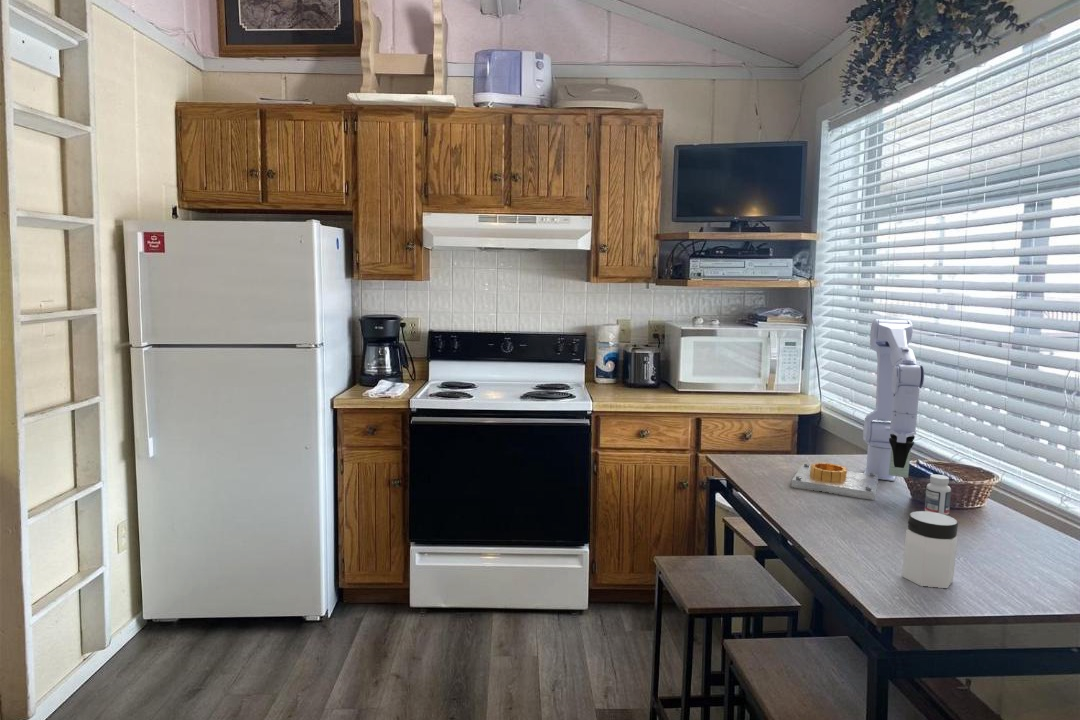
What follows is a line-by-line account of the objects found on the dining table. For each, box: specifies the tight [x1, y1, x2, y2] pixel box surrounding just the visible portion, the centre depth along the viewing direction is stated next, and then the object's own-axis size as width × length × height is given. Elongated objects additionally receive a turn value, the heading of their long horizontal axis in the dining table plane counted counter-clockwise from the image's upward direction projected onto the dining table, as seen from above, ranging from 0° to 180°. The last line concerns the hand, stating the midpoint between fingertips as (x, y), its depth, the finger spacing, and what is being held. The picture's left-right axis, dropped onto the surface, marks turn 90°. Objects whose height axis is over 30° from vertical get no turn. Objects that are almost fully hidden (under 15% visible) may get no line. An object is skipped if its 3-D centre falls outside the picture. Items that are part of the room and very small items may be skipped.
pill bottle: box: [924, 473, 952, 516], centre depth 180 cm, size 5×5×9 cm
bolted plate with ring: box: [791, 462, 879, 501], centre depth 201 cm, size 18×20×4 cm
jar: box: [901, 510, 959, 589], centre depth 140 cm, size 9×8×12 cm
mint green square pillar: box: [889, 447, 912, 479], centre depth 189 cm, size 4×4×8 cm
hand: (899, 465), depth 189 cm, fingers closed on mint green square pillar, 4 cm apart
